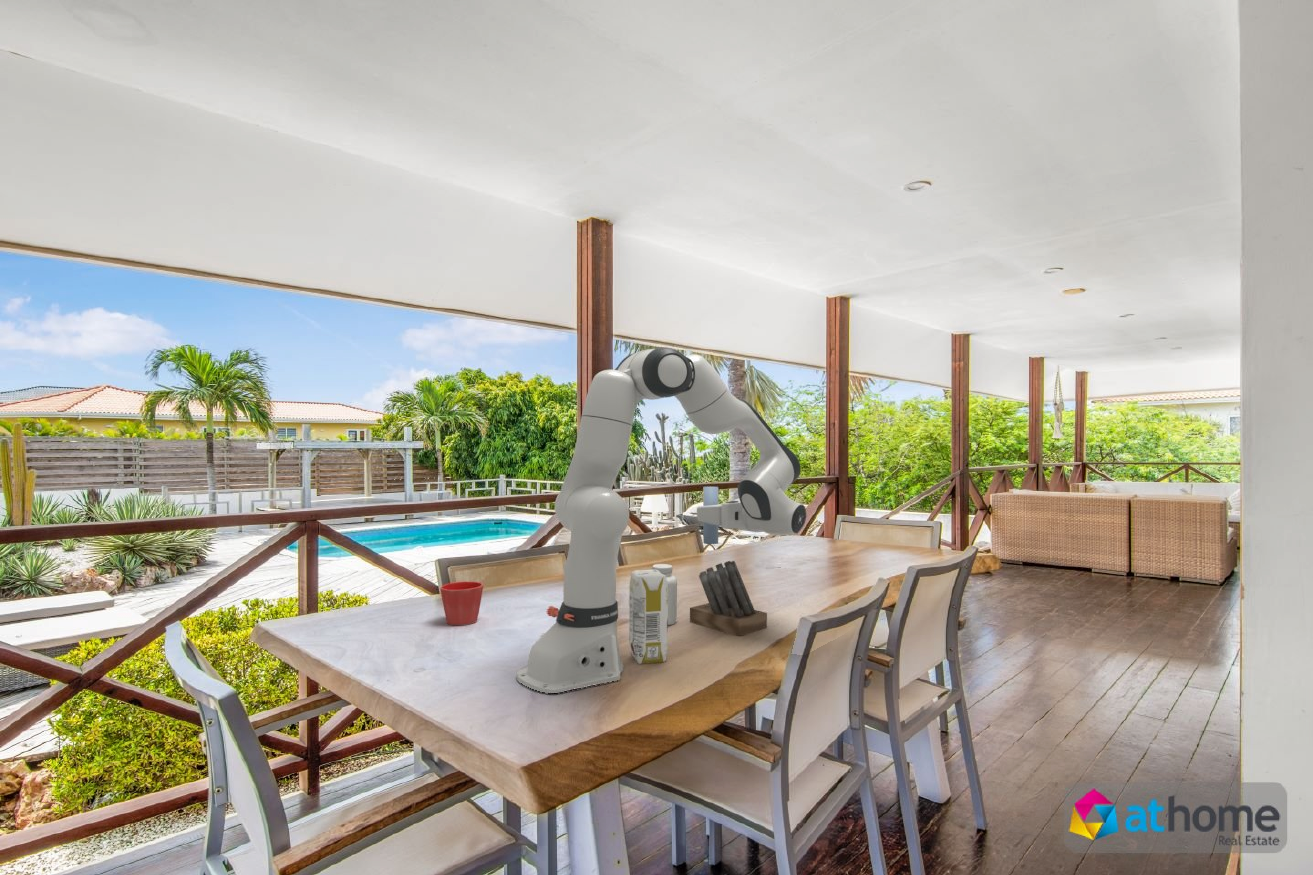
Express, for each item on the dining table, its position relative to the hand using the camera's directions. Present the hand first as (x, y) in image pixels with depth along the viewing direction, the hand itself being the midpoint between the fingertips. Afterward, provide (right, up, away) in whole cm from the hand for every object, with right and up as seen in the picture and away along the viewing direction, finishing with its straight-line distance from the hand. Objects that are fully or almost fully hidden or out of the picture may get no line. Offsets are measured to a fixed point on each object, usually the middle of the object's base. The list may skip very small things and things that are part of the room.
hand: (708, 509), depth 180 cm
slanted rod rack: (+5, -30, -5) cm, 31 cm away
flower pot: (-66, -30, -3) cm, 72 cm away
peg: (+1, -9, -1) cm, 9 cm away
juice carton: (-16, -30, -32) cm, 46 cm away
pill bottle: (-12, -30, -3) cm, 33 cm away
